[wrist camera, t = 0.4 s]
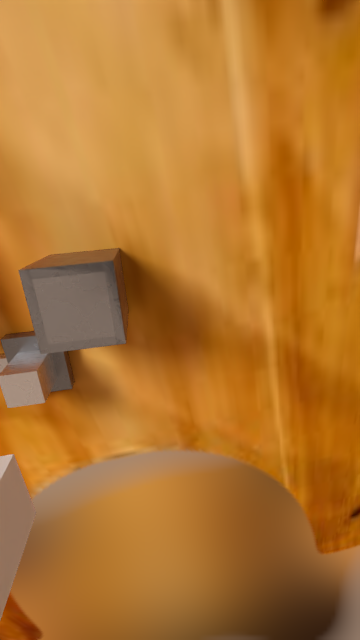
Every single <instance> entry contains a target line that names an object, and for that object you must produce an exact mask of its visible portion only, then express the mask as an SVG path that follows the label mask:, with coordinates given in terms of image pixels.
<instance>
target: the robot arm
mask: <svg viewBox="0 0 360 640" xmlns="http://www.w3.org/2000/svg"><path fill="white" fill-rule="evenodd" d="M35 515H36V511H35V508H34V506H33V503H32V500H31V498H30V495H29V492H28V490H27V487H26V485H25V482H24V479H23V477H22V474H21V472H20V469H19V466H18V464H17V461H16V459H15V456H14V454H11V455H6V456H0V620H1V617H2V614H3V611H4V608H5V605H6V602H7V599H8V596H9V593H10V590H11V587H12V584H13V581H14V578H15V575H16V572H17V569H18V566H19V563H20V560H21V557H22V554H23V551H24V548H25V545H26V542H27V539H28V536H29V533H30V530H31V527H32V524H33V521H34V518H35Z"/></svg>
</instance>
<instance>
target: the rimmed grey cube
mask: <svg viewBox="0 0 360 640" xmlns="http://www.w3.org/2000/svg"><path fill="white" fill-rule="evenodd" d="M19 274H20V277H21V281H22V285H23V289H24V293H25V297H26V300H27V304H28V308H29V312H30V316H31V319H32V323H33V327H34V331H35V335H36V338H37V342H38V346H39V350H40V354H47V353H55V352H63V351H71V350H79V349H86V348H94V347H102V346H110V345H118V344H126V337H127V325H128V313H129V311H128V304H127V297H126V290H125V284H124V277H123V270H122V263H121V256H120V250H119V248H115V249H105V250H95V251H84V252H74V253H64V254H54V255H49V256H47V257H45V258H43V259H41V260H38V261H36V262H34V263H32V264H30V265H28V266H26V267H24V268H22V269H20V270H19Z"/></svg>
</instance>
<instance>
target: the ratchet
mask: <svg viewBox="0 0 360 640" xmlns="http://www.w3.org/2000/svg"><path fill="white" fill-rule="evenodd" d="M1 343H2V346H3V349H4V352H5V354H2V355H0V385H1V388H2V391H3V394H4V398H5V401H6V404H7V407H8V408H11V407H18V406H25V405H32V404H39V403H45V402H46V400H47V398H48V396H49V394H50V392H52V391H59V390H66V389H72V388H73V385H74V377H73V373H72V369H71V364H70V360H69V356H68V351H63V352H55V353H47V354H40V350H39V346H38V342H37V338H36V335H35V331H31V332H23V333H14V334H6V335H5V336H4V337H3V338H2V339H1Z"/></svg>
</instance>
